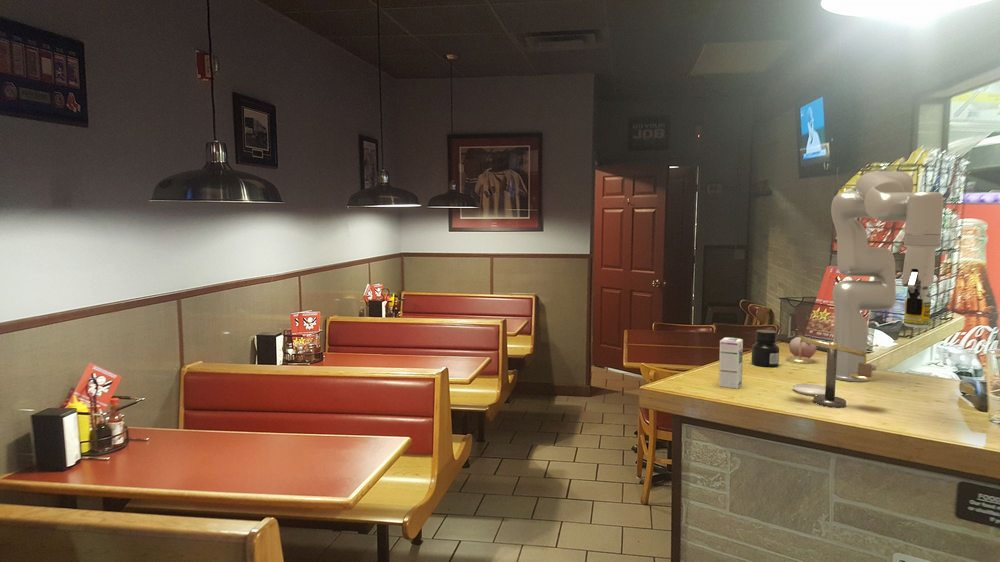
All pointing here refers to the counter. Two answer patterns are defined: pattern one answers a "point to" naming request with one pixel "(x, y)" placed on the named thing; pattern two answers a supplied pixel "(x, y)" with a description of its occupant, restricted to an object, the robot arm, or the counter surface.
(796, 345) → the decorative fruit
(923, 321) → the supplement bottle
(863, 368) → the balance
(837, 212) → the robot arm
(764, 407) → the counter surface
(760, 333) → the ink bottle
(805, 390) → the dish
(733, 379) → the syrup box
